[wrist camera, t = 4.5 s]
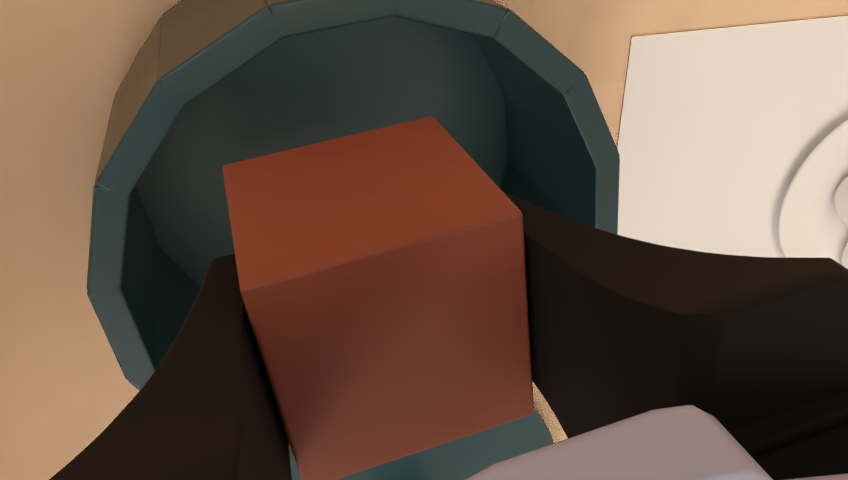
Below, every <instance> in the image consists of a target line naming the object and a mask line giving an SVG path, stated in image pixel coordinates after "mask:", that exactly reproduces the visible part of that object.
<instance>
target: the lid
mask: <svg viewBox="0 0 848 480" xmlns="http://www.w3.org/2000/svg"><path fill="white" fill-rule="evenodd" d="M551 444H554V443H553V439H552V436H551V433H550V431H549V430H548V428H547V426H546V424H545V422H544V421H543V419H542V417H541V416H540V414H539V413H538V412H537V411H536V410H535V409H534V413H533V414H532V415H529V416H526V417H523V418H520V419H517V420H514V421H511V422H508V423H505V424H502V425H499V426H496V427H493V428H490V429H487V430H484V431H481V432H478V433H475V434H472V435H469V436H466V437H463V438H460V439H457V440H454V441H451V442H448V443H445V444H441V445H438V446H435V447H432V448H429V449H426V450H423V451H420V452H417V453H414V454H411V455H408V456H405V457H402V458H399V459H396V460H393V461H390V462H387V463H384V464H381V465H378V466H375V467H372V468H369V469H366V470H363V471H360V472H357V473H354V474H351V475H348V476H345V477H342V478H339V479H336V480H465V479H467V478H469V477H471V476H473V475H474V474H476V473H478V472H480V471H482V470H484V469H485V468H487V467H489V466H491V465H493V464H495V463H498V462H501V461H504V460H507V459H510V458H513V457H516V456H519V455H522V454H524V453H527V452H530V451H533V450H536V449H539V448H542V447H545V446H548V445H551ZM290 465H291V475H292V480H301V477H300V474H299V471H298V468H297V465H296V463H290Z"/></svg>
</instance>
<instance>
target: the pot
mask: <svg viewBox="0 0 848 480" xmlns="http://www.w3.org/2000/svg"><path fill="white" fill-rule="evenodd" d="M429 116H432V117H434V118H435V119H436V120H437V121H438V122H439V123H440V125H441V126H442V127H443V128H444V129H445V130H446V131H447V132H448V133H449V134H450V135H451V136H452V137H453V139H454V140H455V141H456V142H457V143H458V144H459V145H460V146H461V147H462V148H463V149H464V150H465V151H466V153H467V154H468V155H469V156H470V157H471V158H472V159H473V160H474V161H475V162H476V163H477V164H478V166H479V167H480V168H481V169H482V170H483V171H484V172H485V173H486V174H487V175H488V176H489V177H490V178H491V180H492V181H493V182H494V183H495V184H496V185H497V186H498V187H499V188H500V189H501V190H502V191H503V192H505V193H508V194H510V195H512V196H515V197H517V198H520V199H522V200H524V201H527V202H529V203H531V204H534V205H536V206H539V207H541V208H543V209H546V210H548V211H551V212H553V213H556V214H558V215H561V216H563V217H566V218H569V219H571V220H574V221H577V222H579V223H582V224H585V225H588V226H591V227H594V228H597V229H600V230H603V231H606V232H610V233H613V234H618V203H619V173H620V158H619V157H620V155H619V152H618V150H617V148H616V145H615V143H614V140H613V138H612V136H611V133H610V131H609V129H608V126H607V124H606V121H605V119H604V117H603V114H602V112H601V110H600V107H599V105H598V102H597V100H596V98H595V95H594V93H593V90H592V88H591V86H590V83H589V81H588V79H587V76H586V75H585V74H584V72H583V71H582V70H581V69H580V68H579V67H577V66H576V65H575V64H574V63H573V62H572V61H570V60H569V59H568V58H567V57H566V56H564V55H563V54H562V53H561V52H560V51H559V50H557V49H556V48H555V47H554V46H553V45H551V44H550V43H549V42H548V41H547V40H546V39H544V38H543V37H542V36H541V35H540V34H538V33H537V32H536V31H535V30H534V29H533V28H531V27H530V26H529V25H528V24H527V23H525V22H524V21H523V20H522V19H521V18H520V17H518V16H517V15H516V14H515V13H514V12H512V11H511V10H510V9H508V8H506V7H504V6H502V5H500V4H498V3H497V2H495V1H493V0H182V1H181V2H179V3H178V4H177V5H176V6H174V7H173V8H171V9H170V10H169V11H167V12H166V13H164V14H163V16H162V17H161V18H160V19H159V21H158V23H157V24H156V26H155V28H154V29H153V31H152V33H151V34H150V36H149V37H148V39H147V40H146V42H145V43H144V45H143V46H142V48H141V49H140V50H139V52H138V54H137V56H136V58H135V60H134V62H133V64H132V66H131V68H130V70H129V72H128V73H127V75H126V77H125V78H124V80H123V82H122V83H121V85H120V87H119V89H118V90H117V92H116V94H115V98H114V101H113V105H112V109H111V114H110V118H109V123H108V127H107V131H106V136H105V140H104V144H103V149H102V153H101V158H100V162H99V166H98V171H97V175H96V179H95V184H94V190H93V204H92V218H91V233H90V247H89V262H88V276H87V290H88V292H87V295H88V297H89V299H90V301H91V303H92V306H93V308H94V310H95V312H96V314H97V317H98V319H99V321H100V323H101V325H102V327H103V330H104V332H105V334H106V336H107V338H108V341H109V343H110V345H111V347H112V349H113V352H114V354H115V356H116V358H117V360H118V362H119V365H120V367H121V369H122V371H123V373H124V376H125V378H126V379H127V380H128V381H129V382H130V383H131V384H132V385H134V386H135V387H136V388H137V389H139V390H141V389H142V388H143V386H144V385H145V384H146V382H147V381H148V380H149V378H150V377H151V376H152V374H153V373H154V371H155V370H156V368H157V367H158V365H159V364H160V362H161V361H162V359H163V358H164V356H165V355H166V353H167V351H168V349H169V348H170V346H171V344H172V343H173V341H174V339H175V338H176V336H177V334H178V332H179V331H180V329H181V327H182V325H183V323H184V321H185V319H186V317H187V315H188V313H189V311H190V309H191V307H192V305H193V303H194V301H195V299H196V296H197V294H198V292H199V289H200V287H201V285H202V282H203V280H204V277H205V274H206V272H207V269H208V266H209V265H210V263H211V262H212V260H213V259H215V258H219V257H223V256H227V255H231V254H235V252H234V245H233V238H232V231H231V225H230V218H229V211H228V204H227V197H226V191H225V184H224V177H223V170H222V169H223V166H224V165H226V164H230V163H235V162H239V161H243V160H247V159H252V158H256V157H260V156H264V155H268V154H273V153H277V152H281V151H285V150H290V149H294V148H298V147H302V146H306V145H311V144H315V143H319V142H323V141H328V140H332V139H336V138H340V137H345V136H349V135H353V134H357V133H361V132H366V131H370V130H374V129H378V128H383V127H387V126H391V125H395V124H400V123H404V122H408V121H412V120H416V119H421V118H425V117H429ZM288 444H289V454H290V463H296V462H295V459H294V455H293V452H292V449H291V446H290V443H289V440H288Z"/></svg>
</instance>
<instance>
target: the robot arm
mask: <svg viewBox="0 0 848 480" xmlns="http://www.w3.org/2000/svg"><path fill="white" fill-rule="evenodd" d="M504 194H505V195H506V196H507V197H508V198H509V199H510V200H511V201H512V202H513V203H514V204H515V205H516V207H517V208H518V209H519V210H520V211H521V212H522V214H523V230H524V248H525V265H526V283H527V300H528V318H529V335H530V352H531V370H532V381H533V382H534V383H535V385H536V386H537V388H538V389H539V390H540V392H541V393H542V395H543V396H544V398H545V399H546V401H547V402H548V404H549V406H550V407H551V409H552V410H553V412H554V413H555V415H556V417H557V419H558V421H559V423H560V424H561V426H562V428H563V430H564V432H565V434H566V435H567V437H568V439H565V440H563V441H560V442H557V443H554V444H551V445H548V446H545V447H542V448H539V449H536V450H533V451H530V452H527V453H524V454H522V455H519V456H516V457H513V458H510V459H507V460H504V461H501V462H498V463H495V464H493V465H491V466H489V467H487V468H485V469H484V470H482V471H480V472H478V473H476V474H474V475H473V476H471V477H469V478H467V479H465V480H848V269H847V268H845V267H844V266H842V265H841V264H839V263H838V262H836V261H835V260H833V259H831V258H793V257H753V256H739V255H726V254H716V253H707V252H700V251H693V250H687V249H680V248H674V247H668V246H663V245H658V244H653V243H649V242H645V241H640V240H636V239H632V238H628V237H624V236H620V235H617V234H613V233H610V232H606V231H603V230H600V229H597V228H594V227H591V226H588V225H585V224H582V223H579V222H577V221H574V220H571V219H569V218H566V217H563V216H561V215H558V214H556V213H553V212H551V211H548V210H546V209H543V208H541V207H539V206H536V205H534V204H531V203H529V202H527V201H524V200H522V199H520V198H517V197H515V196H512V195H510V194H508V193H505V192H504ZM49 480H292V475H291V465H290V454H289V444H288V437H287V434H286V431H285V428H284V425H283V421H282V418H281V415H280V412H279V409H278V406H277V403H276V400H275V397H274V394H273V391H272V387H271V384H270V381H269V378H268V375H267V372H266V369H265V366H264V363H263V360H262V357H261V353H260V350H259V347H258V344H257V341H256V338H255V335H254V332H253V329H252V326H251V323H250V319H249V316H248V313H247V310H246V307H245V304H244V301H243V298H242V295H241V292H240V286H239V279H238V272H237V265H236V259H235V254H231V255H227V256H223V257H219V258H215V259H213V260H212V262H211V263H210V265H209V266H208V269H207V272H206V274H205V277H204V280H203V282H202V285H201V287H200V289H199V292H198V294H197V296H196V299H195V301H194V303H193V305H192V307H191V309H190V311H189V313H188V315H187V317H186V319H185V321H184V323H183V325H182V327H181V329H180V331H179V332H178V334H177V336H176V338H175V339H174V341H173V343H172V344H171V346H170V348H169V349H168V351H167V353H166V355H165V356H164V358H163V359H162V361H161V362H160V364H159V365H158V367H157V368H156V370H155V371H154V373H153V374H152V376H151V377H150V378H149V380H148V381H147V382H146V384H145V385H144V386H143V388H142V389H141V390H140V391H139V392H138V394H137V395H136V396H135V397H134V398H133V399H132V401H131V402H130V403H129V404H128V405H127V406H126V407H125V408H124V409H123V410H122V412H121V413H120V414H119V415H118V416H117V417H116V418H115V419H114V420H113V421H112V423H111V424H110V425H109V426H108V427H107V428H106V429H105V430H104V431H103V432H102V433H101V434H100V435H99V436H98V437H97V438H96V439H95V440H94V441H93V442H92V443H91V444H90V445H88V446H87V447H86V448H85V449H84V450H83V451H82V452H81V453H80V454H79V455H77V456H76V457H75V458H74V459H73V460H72V461H71V462H70V463H68V464H67V465H66V466H65V467H64V468H63V469H61V470H60V471H59V472H58V473H57V474H55V475H54V476H53V477H52V478H51V479H49Z"/></svg>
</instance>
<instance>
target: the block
mask: <svg viewBox="0 0 848 480" xmlns="http://www.w3.org/2000/svg"><path fill="white" fill-rule="evenodd" d="M222 170H223V177H224V184H225V191H226V197H227V204H228V211H229V218H230V225H231V231H232V238H233V245H234V252H235V259H236V265H237V272H238V279H239V286H240V292H241V295H242V298H243V301H244V304H245V307H246V310H247V313H248V316H249V319H250V323H251V326H252V329H253V332H254V335H255V338H256V341H257V344H258V347H259V350H260V353H261V357H262V360H263V363H264V366H265V369H266V372H267V375H268V378H269V381H270V384H271V387H272V391H273V394H274V397H275V400H276V403H277V406H278V409H279V412H280V415H281V418H282V421H283V425H284V428H285V431H286V434H287V437H288V440H289V443H290V446H291V449H292V452H293V455H294V459H295V462H296V465H297V468H298V471H299V474H300V477H301V480H336V479H339V478H342V477H345V476H348V475H351V474H354V473H357V472H360V471H363V470H366V469H369V468H372V467H375V466H378V465H381V464H384V463H387V462H390V461H393V460H396V459H399V458H402V457H405V456H408V455H411V454H414V453H417V452H420V451H423V450H426V449H429V448H432V447H435V446H438V445H441V444H445V443H448V442H451V441H454V440H457V439H460V438H463V437H466V436H469V435H472V434H475V433H478V432H481V431H484V430H487V429H490V428H493V427H496V426H499V425H502V424H505V423H508V422H511V421H514V420H517V419H520V418H523V417H526V416H529V415H532V414H533V413H534V405H533V387H532V370H531V352H530V335H529V318H528V300H527V283H526V265H525V248H524V230H523V214H522V212H521V211H520V210H519V209H518V208H517V207H516V205H515V204H514V203H513V202H512V201H511V200H510V199H509V198H508V197H507V196H506V195H505V194H504V192H503V191H502V190H501V189H500V188H499V187H498V186H497V185H496V184H495V183H494V182H493V181H492V180H491V178H490V177H489V176H488V175H487V174H486V173H485V172H484V171H483V170H482V169H481V168H480V167H479V166H478V164H477V163H476V162H475V161H474V160H473V159H472V158H471V157H470V156H469V155H468V154H467V153H466V151H465V150H464V149H463V148H462V147H461V146H460V145H459V144H458V143H457V142H456V141H455V140H454V139H453V137H452V136H451V135H450V134H449V133H448V132H447V131H446V130H445V129H444V128H443V127H442V126H441V125H440V123H439V122H438V121H437V120H436V119H435V118H434V117H432V116H429V117H425V118H421V119H416V120H412V121H408V122H404V123H400V124H395V125H391V126H387V127H383V128H378V129H374V130H370V131H366V132H361V133H357V134H353V135H349V136H345V137H340V138H336V139H332V140H328V141H323V142H319V143H315V144H311V145H306V146H302V147H298V148H294V149H290V150H285V151H281V152H277V153H273V154H268V155H264V156H260V157H256V158H252V159H247V160H243V161H239V162H235V163H230V164H226V165H224V166H223V169H222Z"/></svg>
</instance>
